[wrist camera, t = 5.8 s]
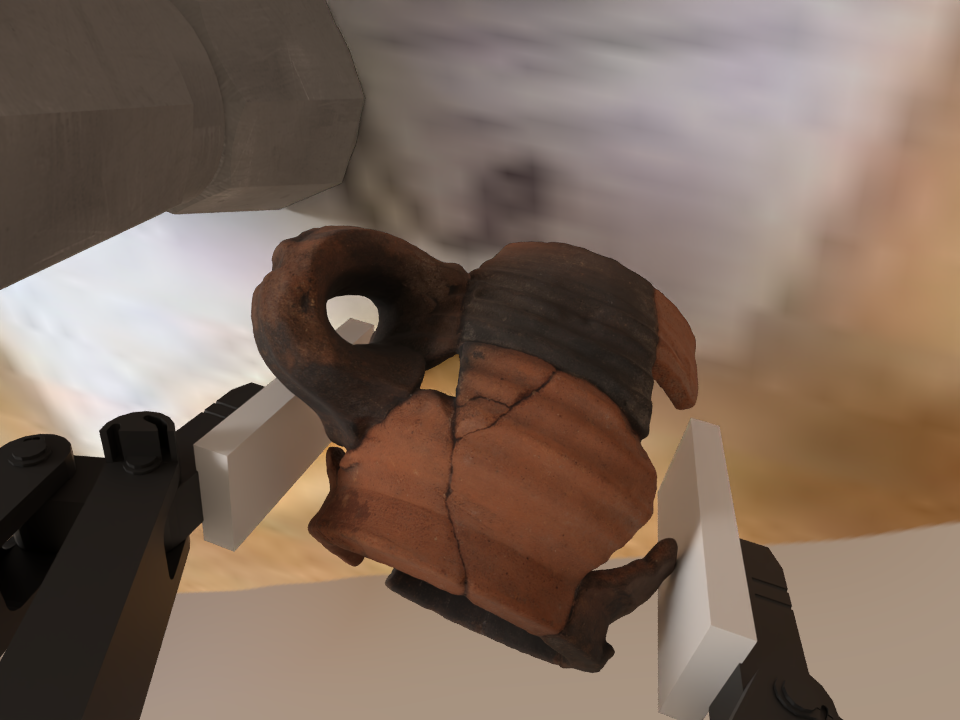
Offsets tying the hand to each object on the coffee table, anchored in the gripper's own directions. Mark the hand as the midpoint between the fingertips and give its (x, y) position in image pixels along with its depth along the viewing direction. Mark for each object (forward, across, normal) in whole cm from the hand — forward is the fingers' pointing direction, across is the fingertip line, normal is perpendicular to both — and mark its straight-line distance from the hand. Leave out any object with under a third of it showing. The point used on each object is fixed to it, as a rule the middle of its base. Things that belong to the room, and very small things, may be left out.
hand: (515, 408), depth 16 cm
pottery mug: (+1, 0, +1) cm, 1 cm away
